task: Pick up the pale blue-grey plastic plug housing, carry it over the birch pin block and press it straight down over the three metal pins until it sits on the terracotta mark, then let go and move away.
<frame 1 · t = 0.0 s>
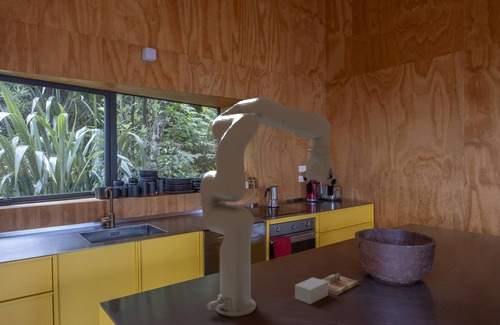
hand: (319, 194, 138), 31 cm above the kitchen island, tool pointing down, fingers open, 9 cm apart
pin block: (334, 285, 124), on the kitchen island
plug housing: (311, 296, 115), on the kitchen island
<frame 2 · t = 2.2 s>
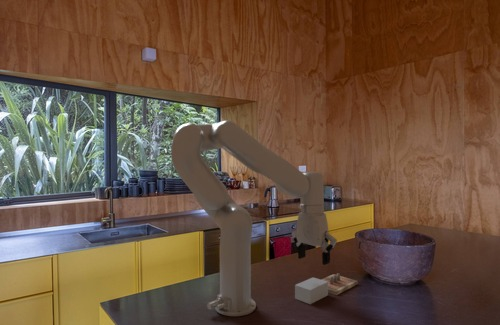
hand: (313, 260, 115), 12 cm above the kitchen island, tool pointing down, fingers open, 9 cm apart
nothing on the kitchen island moved.
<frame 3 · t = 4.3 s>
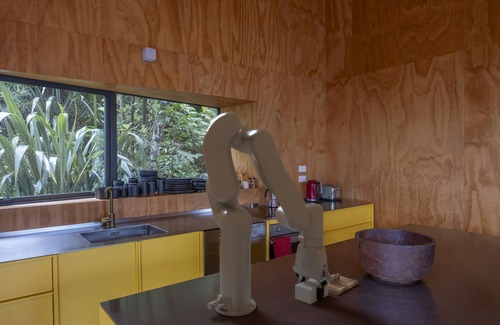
hand: (311, 295, 115), 1 cm above the kitchen island, tool pointing down, fingers closed on plug housing, 6 cm apart
plug housing: (311, 296, 115), on the kitchen island, touching gripper
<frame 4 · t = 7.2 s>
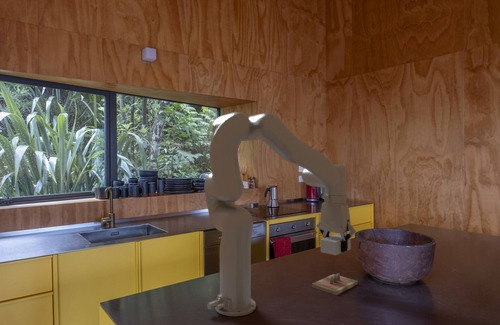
hand: (335, 249, 124), 13 cm above the kitchen island, tool pointing down, fingers closed on plug housing, 6 cm apart
plug housing: (335, 250, 124), point 13 cm above the kitchen island, touching gripper
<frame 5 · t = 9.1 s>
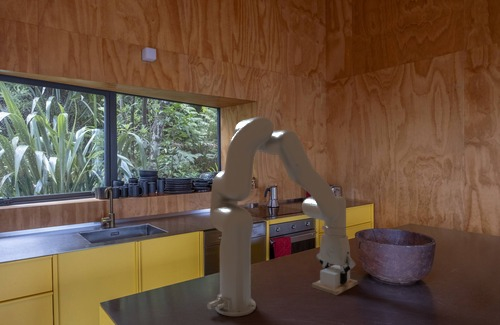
hand: (335, 280, 124), 2 cm above the kitchen island, tool pointing down, fingers closed on plug housing, 6 cm apart
plug housing: (335, 281, 124), point 1 cm above the kitchen island, touching gripper, pin block
when the fingers open (2 cm above the kitchen island, at t = 10.2 s): plug housing stays where it is, resting on pin block.
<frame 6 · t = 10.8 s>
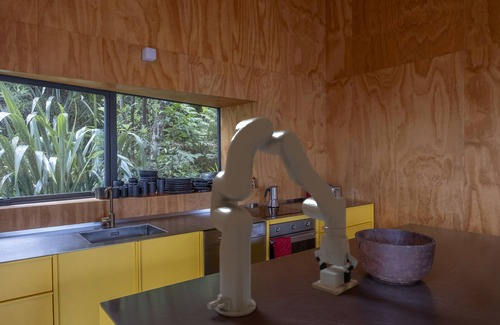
hand: (334, 278, 124), 2 cm above the kitchen island, tool pointing down, fingers open, 9 cm apart
plug housing: (335, 281, 124), point 1 cm above the kitchen island, touching pin block
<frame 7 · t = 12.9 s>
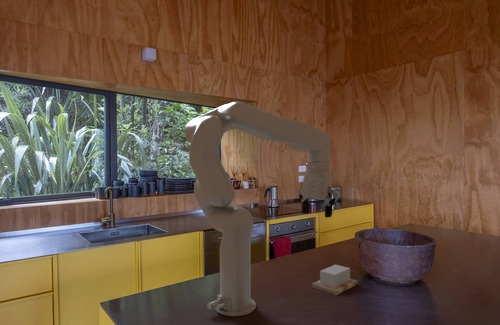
hand: (316, 215, 123), 26 cm above the kitchen island, tool pointing down, fingers open, 9 cm apart
nothing on the kitchen island moved.
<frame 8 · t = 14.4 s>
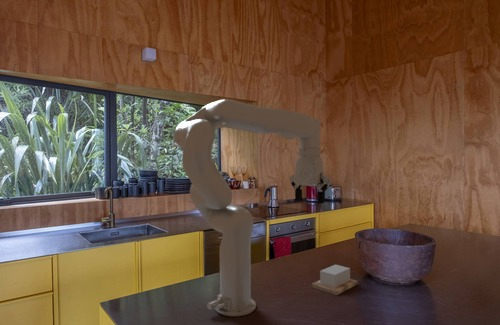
hand: (309, 201, 123), 30 cm above the kitchen island, tool pointing down, fingers open, 9 cm apart
nothing on the kitchen island moved.
at the end: plug housing 0.1 cm off-centre on the pin block, point 1.3 cm above the pin block's base; plug housing tilted 0°; the gripper is holding nothing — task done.
